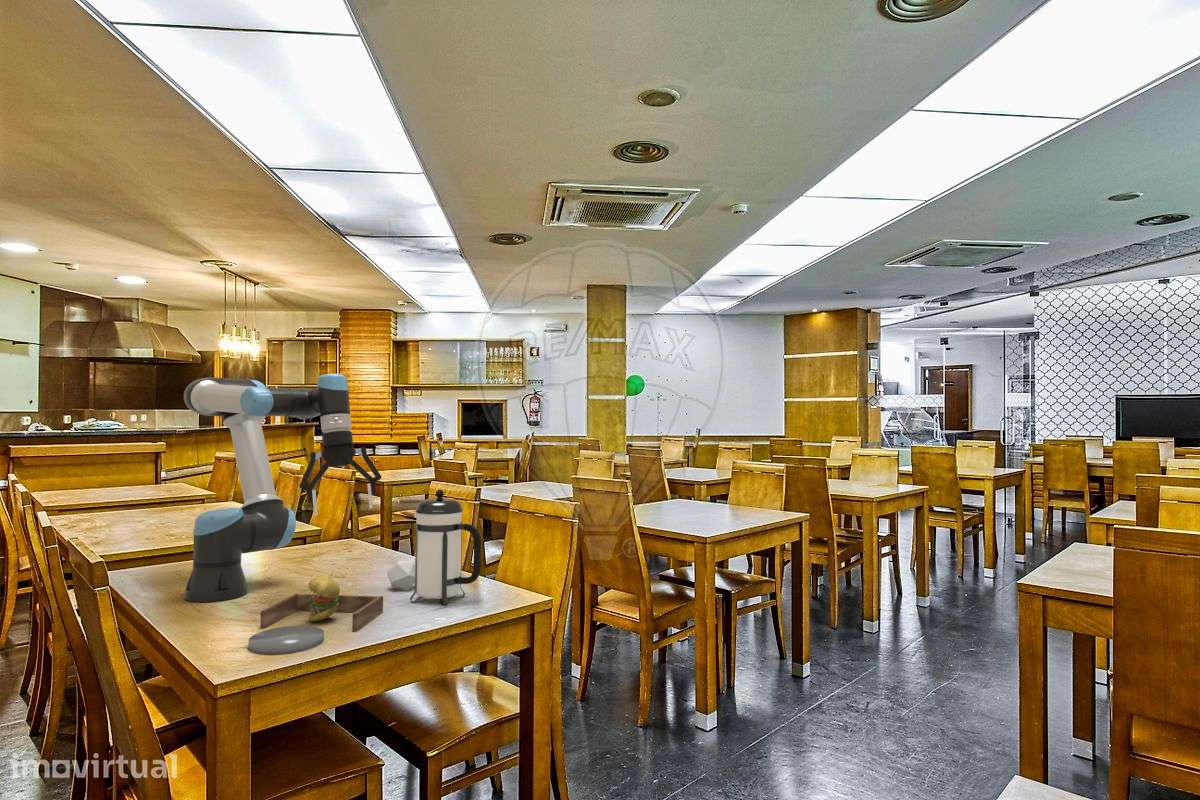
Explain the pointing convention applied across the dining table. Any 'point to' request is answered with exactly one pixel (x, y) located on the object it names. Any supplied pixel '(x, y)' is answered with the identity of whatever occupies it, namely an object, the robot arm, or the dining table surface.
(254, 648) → the plate
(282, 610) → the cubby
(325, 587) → the hamburger
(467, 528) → the coffee press
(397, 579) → the die
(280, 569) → the dining table surface
